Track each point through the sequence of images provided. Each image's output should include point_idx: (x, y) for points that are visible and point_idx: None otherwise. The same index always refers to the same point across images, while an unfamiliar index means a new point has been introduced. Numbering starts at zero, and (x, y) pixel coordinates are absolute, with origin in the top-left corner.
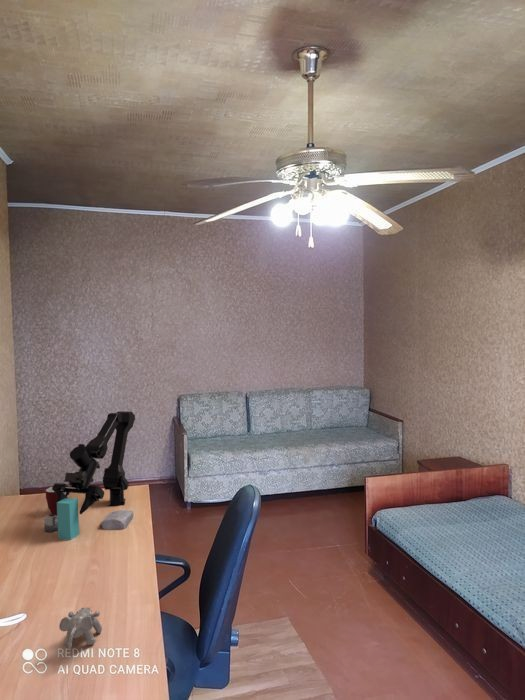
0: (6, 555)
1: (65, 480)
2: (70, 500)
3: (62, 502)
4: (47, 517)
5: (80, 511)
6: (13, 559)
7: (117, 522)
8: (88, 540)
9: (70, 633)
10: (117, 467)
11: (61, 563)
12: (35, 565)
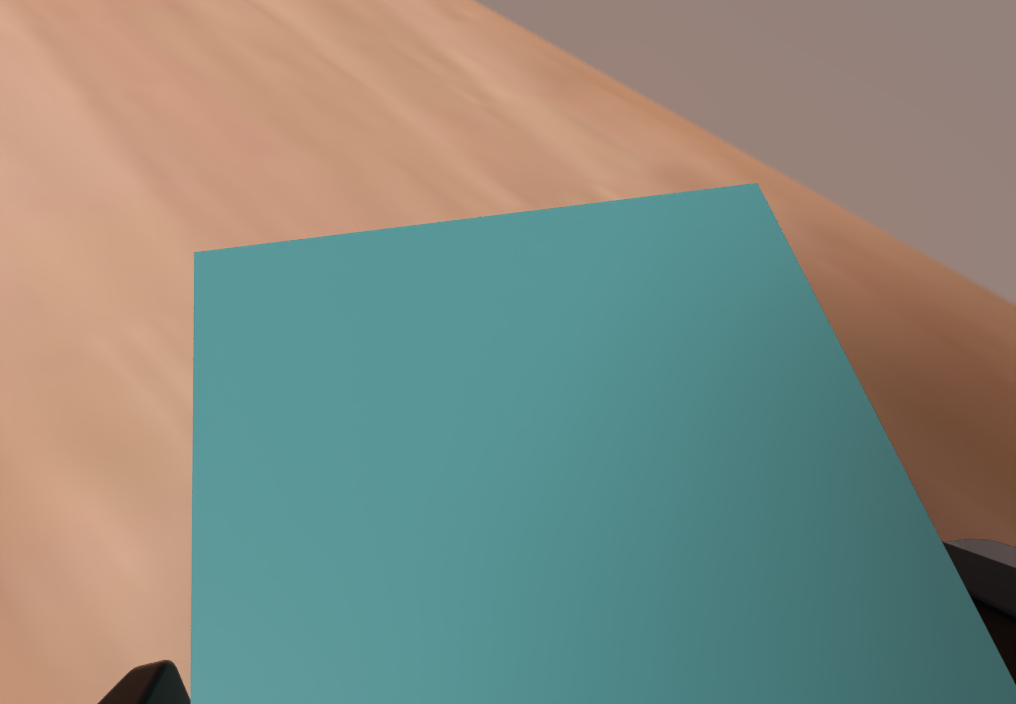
0: (663, 112)
1: None
2: (454, 595)
3: (588, 258)
4: None
5: (121, 696)
6: (556, 89)
7: None
8: (144, 604)
9: None
10: None
11: (127, 139)
12: (319, 73)
